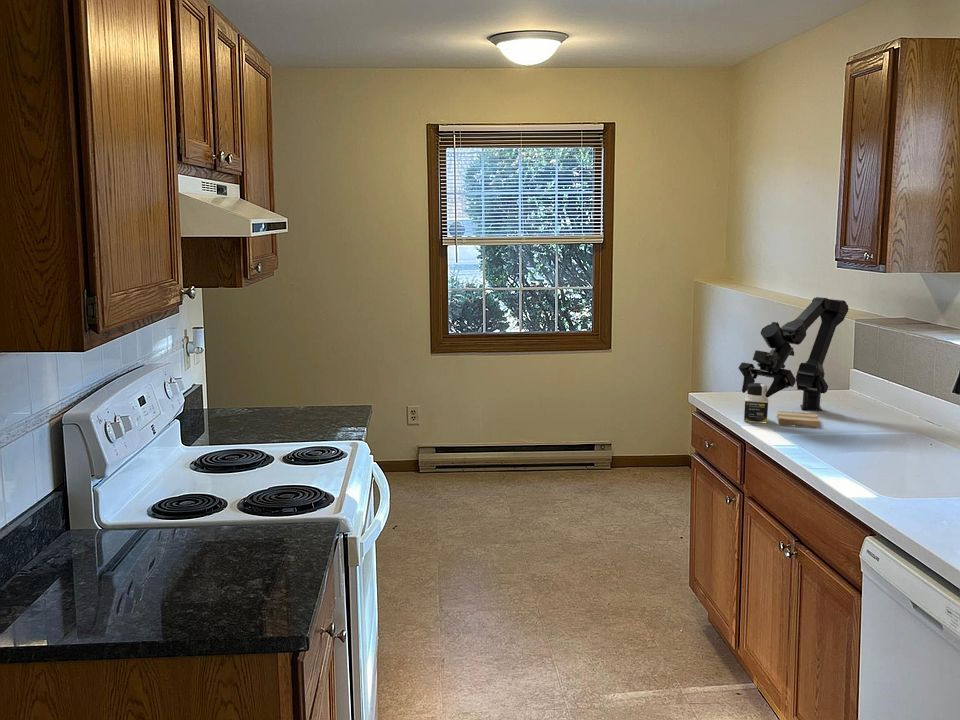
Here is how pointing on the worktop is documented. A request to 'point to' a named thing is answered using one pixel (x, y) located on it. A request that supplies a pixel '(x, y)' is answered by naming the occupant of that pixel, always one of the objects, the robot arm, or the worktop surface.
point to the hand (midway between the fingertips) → (754, 394)
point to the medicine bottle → (756, 403)
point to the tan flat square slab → (797, 419)
